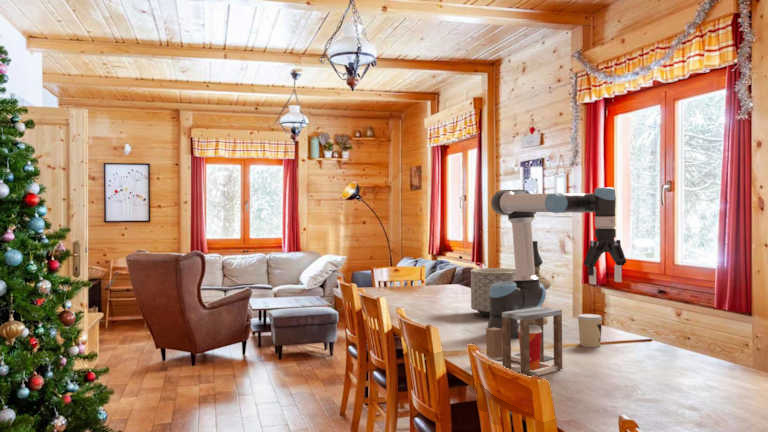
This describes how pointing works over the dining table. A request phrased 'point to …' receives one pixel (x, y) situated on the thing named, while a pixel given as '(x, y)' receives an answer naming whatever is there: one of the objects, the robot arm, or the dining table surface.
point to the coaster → (544, 357)
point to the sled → (496, 354)
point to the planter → (487, 286)
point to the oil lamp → (539, 275)
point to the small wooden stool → (524, 318)
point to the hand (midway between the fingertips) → (605, 283)
